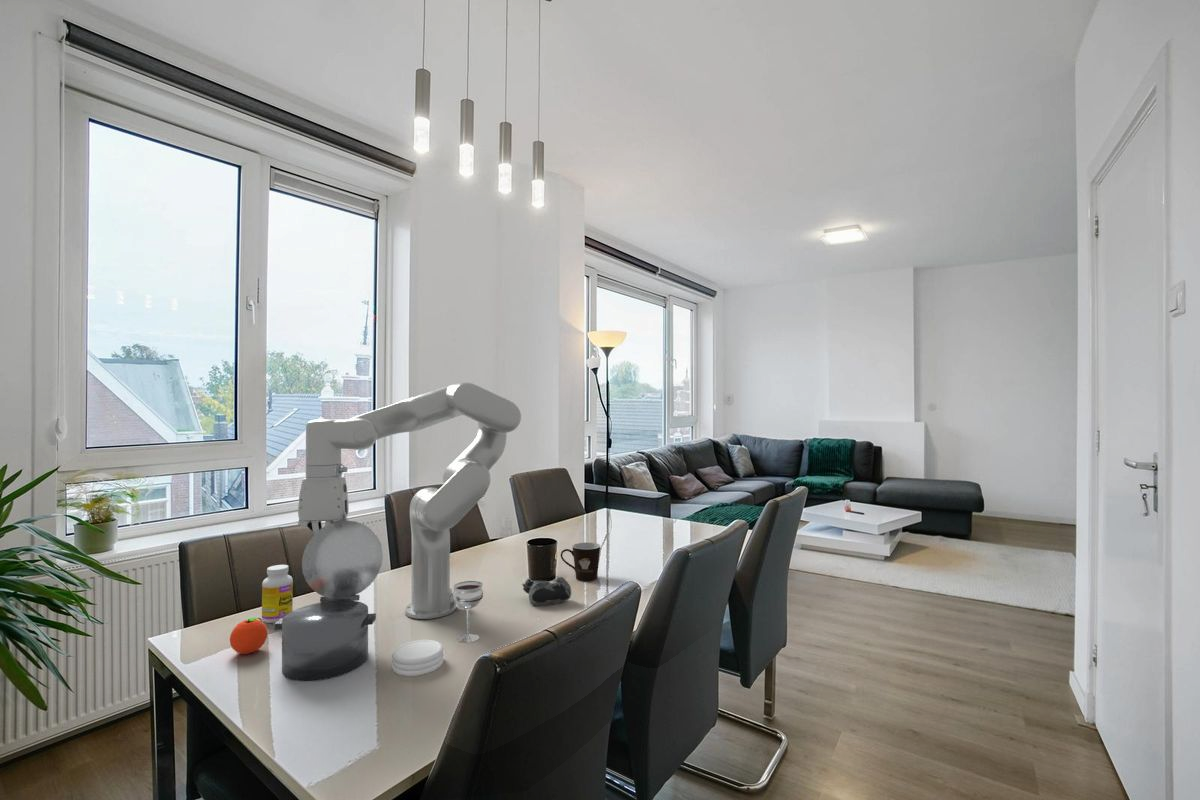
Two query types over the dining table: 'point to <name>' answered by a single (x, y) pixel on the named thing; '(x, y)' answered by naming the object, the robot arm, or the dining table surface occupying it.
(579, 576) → the coffee mug
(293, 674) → the pot
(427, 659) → the white round stack
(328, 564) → the lid
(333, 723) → the dining table surface
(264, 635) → the clementine
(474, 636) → the wineglass
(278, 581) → the supplement bottle
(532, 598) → the bison figurine
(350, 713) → the dining table surface
